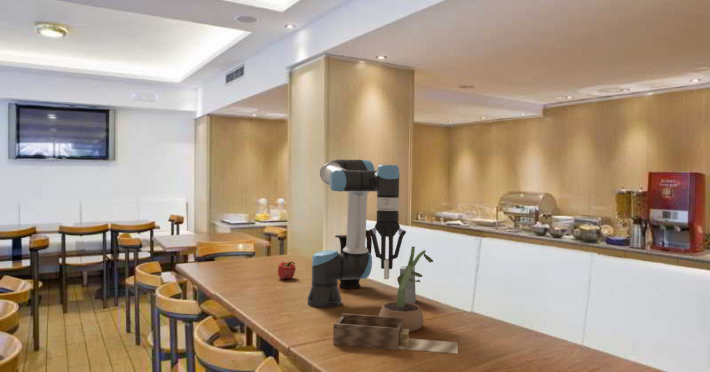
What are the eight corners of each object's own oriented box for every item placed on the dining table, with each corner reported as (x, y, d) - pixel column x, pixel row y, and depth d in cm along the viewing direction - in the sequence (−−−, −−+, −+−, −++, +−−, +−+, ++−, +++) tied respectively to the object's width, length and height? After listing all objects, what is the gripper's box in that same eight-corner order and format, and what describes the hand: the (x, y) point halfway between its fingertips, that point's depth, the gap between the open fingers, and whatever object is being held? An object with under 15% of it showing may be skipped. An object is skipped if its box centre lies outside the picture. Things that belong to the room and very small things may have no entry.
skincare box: (414, 304, 215) (415, 269, 215) (398, 303, 217) (399, 268, 217) (416, 299, 224) (416, 265, 223) (400, 298, 225) (401, 265, 225)
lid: (398, 350, 159) (398, 336, 159) (402, 340, 169) (402, 326, 169) (457, 355, 155) (458, 340, 155) (457, 344, 165) (458, 330, 165)
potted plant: (408, 337, 170) (409, 253, 169) (369, 326, 182) (370, 247, 182) (442, 324, 187) (443, 247, 186) (405, 314, 199) (406, 242, 198)
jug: (325, 289, 242) (325, 230, 242) (339, 282, 260) (340, 226, 259) (364, 293, 235) (364, 232, 234) (376, 285, 252) (377, 228, 251)
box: (333, 344, 162) (333, 323, 162) (342, 332, 175) (342, 313, 175) (398, 350, 157) (398, 328, 157) (402, 337, 170) (402, 317, 170)
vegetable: (300, 278, 267) (300, 260, 267) (288, 281, 258) (288, 263, 258) (285, 276, 273) (285, 258, 273) (273, 279, 264) (273, 261, 264)
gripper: (367, 210, 162) (366, 279, 162) (405, 211, 159) (404, 281, 160) (370, 208, 169) (369, 275, 170) (407, 209, 166) (406, 277, 167)
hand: (386, 278), depth 165 cm, fingers closed
